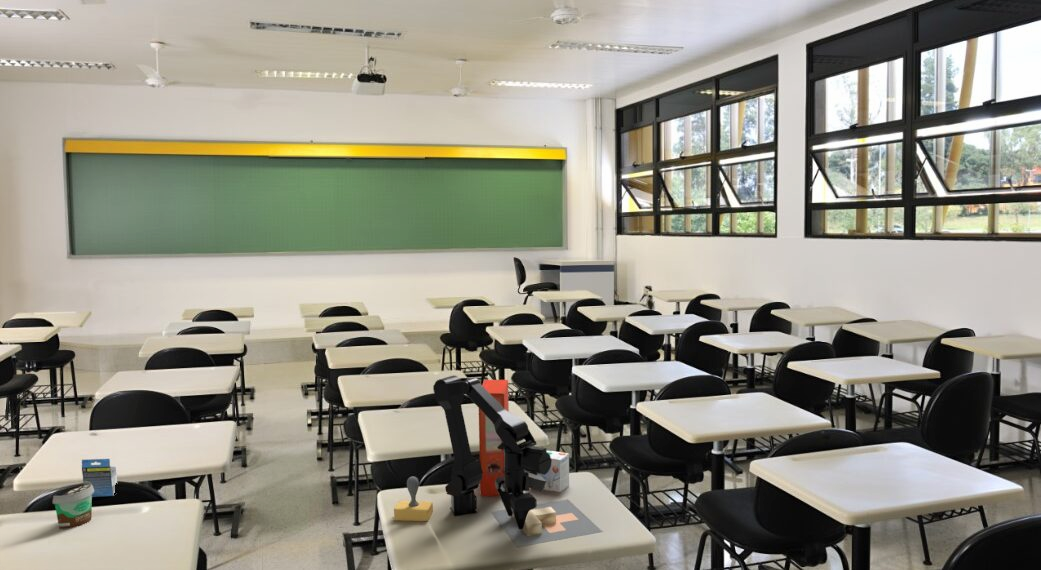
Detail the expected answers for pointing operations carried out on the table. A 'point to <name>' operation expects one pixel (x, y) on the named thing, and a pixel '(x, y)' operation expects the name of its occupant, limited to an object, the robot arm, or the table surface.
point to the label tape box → (100, 476)
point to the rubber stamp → (413, 505)
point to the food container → (74, 506)
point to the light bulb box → (557, 472)
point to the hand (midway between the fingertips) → (515, 522)
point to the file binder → (491, 440)
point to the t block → (538, 520)
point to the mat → (566, 525)
